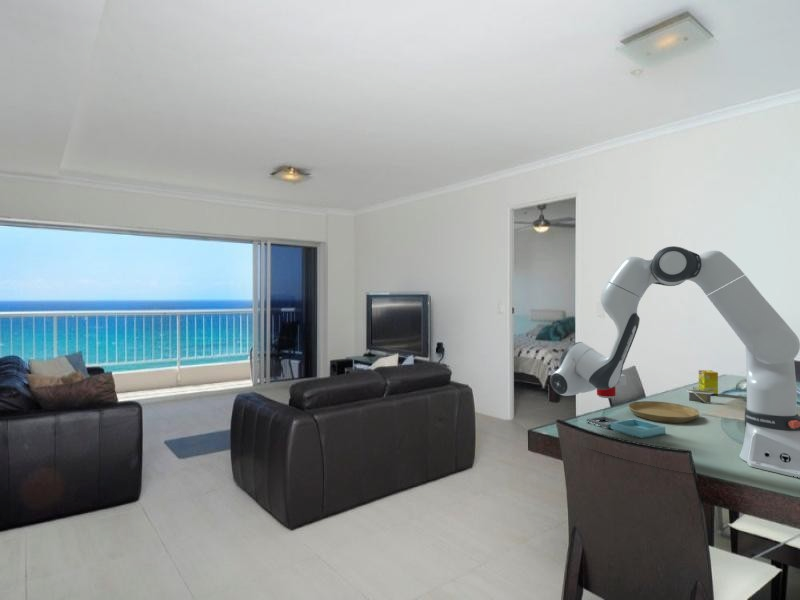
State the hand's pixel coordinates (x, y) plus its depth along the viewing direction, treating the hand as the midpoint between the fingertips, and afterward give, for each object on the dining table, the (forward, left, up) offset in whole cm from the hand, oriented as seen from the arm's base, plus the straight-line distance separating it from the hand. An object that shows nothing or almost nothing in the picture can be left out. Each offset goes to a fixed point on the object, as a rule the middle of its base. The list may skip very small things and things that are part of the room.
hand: (607, 374), depth 171 cm
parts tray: (-12, -1, -18) cm, 21 cm away
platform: (+6, -66, -19) cm, 69 cm away
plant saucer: (-2, -29, -18) cm, 34 cm away
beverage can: (0, +1, -8) cm, 8 cm away
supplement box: (+14, -85, -18) cm, 88 cm away
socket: (0, +1, -18) cm, 18 cm away
